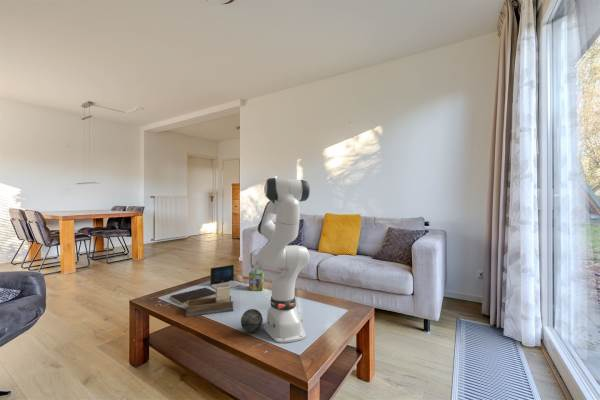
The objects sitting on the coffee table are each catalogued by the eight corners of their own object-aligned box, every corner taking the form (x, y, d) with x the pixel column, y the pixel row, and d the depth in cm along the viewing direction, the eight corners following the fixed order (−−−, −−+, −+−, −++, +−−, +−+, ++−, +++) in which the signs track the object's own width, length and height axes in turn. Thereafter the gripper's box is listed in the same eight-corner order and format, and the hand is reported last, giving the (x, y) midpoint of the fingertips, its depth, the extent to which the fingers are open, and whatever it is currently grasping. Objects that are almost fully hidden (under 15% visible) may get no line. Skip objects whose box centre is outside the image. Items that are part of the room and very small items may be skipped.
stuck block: (229, 306, 152) (229, 288, 152) (216, 307, 149) (216, 289, 149) (228, 301, 158) (228, 284, 158) (215, 303, 156) (216, 285, 156)
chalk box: (262, 291, 182) (262, 269, 182) (248, 290, 182) (248, 268, 183) (264, 286, 191) (264, 265, 192) (251, 286, 192) (251, 265, 192)
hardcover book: (217, 296, 172) (217, 292, 172) (181, 306, 155) (181, 302, 155) (205, 290, 183) (205, 287, 183) (170, 299, 166) (170, 295, 166)
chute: (233, 311, 148) (233, 303, 148) (185, 317, 139) (185, 309, 139) (229, 300, 163) (230, 294, 163) (186, 305, 154) (186, 298, 154)
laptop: (218, 291, 181) (218, 271, 181) (210, 286, 190) (210, 268, 190) (241, 285, 193) (242, 267, 193) (233, 281, 202) (233, 264, 202)
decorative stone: (238, 328, 128) (239, 307, 128) (259, 324, 132) (259, 304, 132) (243, 338, 119) (243, 315, 119) (265, 334, 123) (265, 312, 123)
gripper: (263, 244, 173) (247, 260, 169) (271, 250, 154) (253, 269, 150) (269, 251, 174) (254, 267, 171) (278, 258, 155) (261, 276, 152)
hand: (254, 268), depth 161 cm, fingers closed
